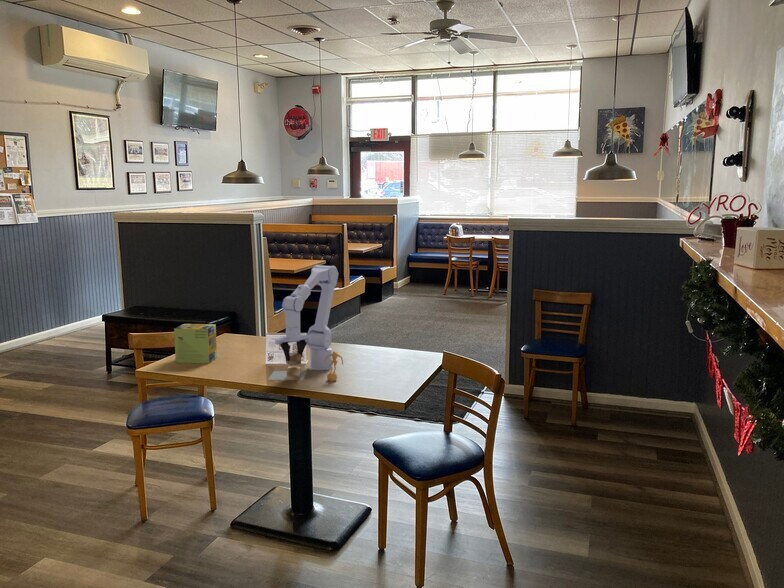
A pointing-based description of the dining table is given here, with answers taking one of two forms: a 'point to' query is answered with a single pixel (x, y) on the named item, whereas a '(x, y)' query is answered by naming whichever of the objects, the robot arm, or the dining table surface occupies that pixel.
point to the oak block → (293, 372)
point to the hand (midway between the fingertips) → (293, 359)
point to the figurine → (332, 375)
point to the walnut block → (294, 359)
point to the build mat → (284, 375)
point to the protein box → (195, 343)
